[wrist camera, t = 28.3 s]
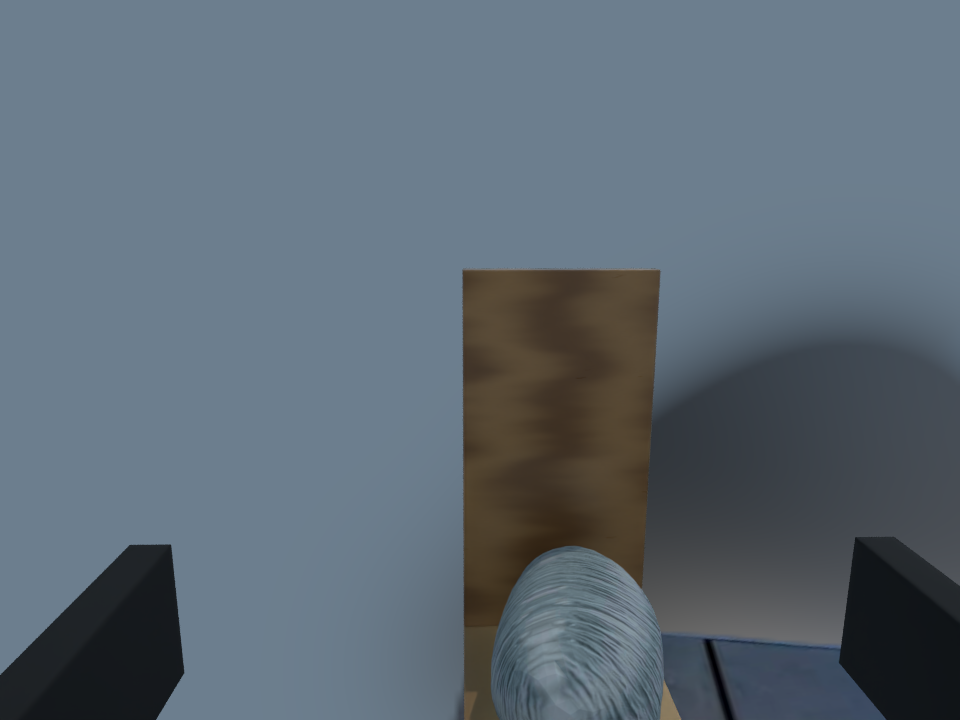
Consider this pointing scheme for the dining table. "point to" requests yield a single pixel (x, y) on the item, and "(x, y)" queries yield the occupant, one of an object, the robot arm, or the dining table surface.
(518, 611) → the grey streaked ellipsoid
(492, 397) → the wooden chair
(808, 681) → the dining table surface
